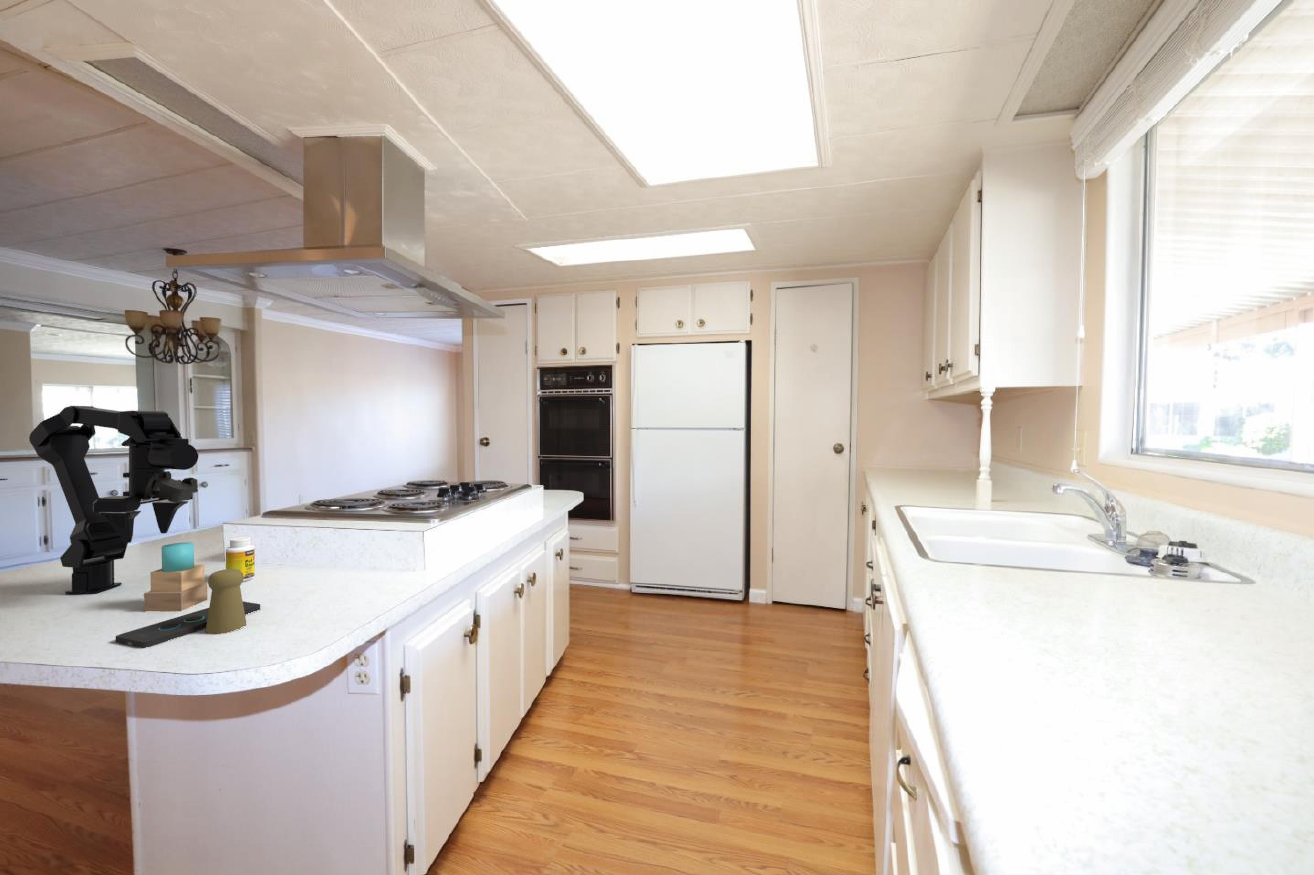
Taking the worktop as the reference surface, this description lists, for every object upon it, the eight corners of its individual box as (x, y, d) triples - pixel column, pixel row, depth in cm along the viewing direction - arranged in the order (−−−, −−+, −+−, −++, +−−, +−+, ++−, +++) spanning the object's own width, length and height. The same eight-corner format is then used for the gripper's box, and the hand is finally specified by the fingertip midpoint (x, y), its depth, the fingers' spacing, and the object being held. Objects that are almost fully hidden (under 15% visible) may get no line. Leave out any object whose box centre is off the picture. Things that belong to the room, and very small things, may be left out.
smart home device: (113, 635, 92) (233, 599, 112) (113, 644, 92) (233, 607, 112) (144, 641, 90) (262, 603, 109) (145, 651, 90) (262, 611, 109)
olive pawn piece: (212, 636, 95) (212, 576, 95) (199, 629, 99) (199, 571, 98) (252, 626, 101) (251, 569, 100) (238, 619, 104) (238, 564, 103)
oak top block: (175, 582, 114) (175, 564, 114) (204, 582, 114) (204, 564, 114) (150, 591, 108) (150, 572, 108) (181, 591, 108) (181, 572, 108)
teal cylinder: (175, 565, 113) (175, 542, 113) (200, 565, 113) (200, 542, 113) (155, 572, 108) (154, 548, 108) (180, 572, 108) (180, 547, 108)
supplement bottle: (247, 582, 126) (247, 540, 126) (220, 584, 125) (220, 541, 125) (259, 576, 132) (259, 535, 132) (233, 577, 131) (233, 536, 130)
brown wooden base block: (172, 601, 114) (172, 582, 114) (207, 600, 115) (207, 582, 114) (144, 612, 107) (144, 593, 107) (181, 612, 108) (181, 592, 107)
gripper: (150, 472, 107) (150, 548, 108) (217, 464, 126) (216, 529, 127) (90, 471, 106) (90, 547, 107) (166, 463, 125) (166, 528, 125)
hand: (146, 537), depth 116 cm, fingers open, 9 cm apart
